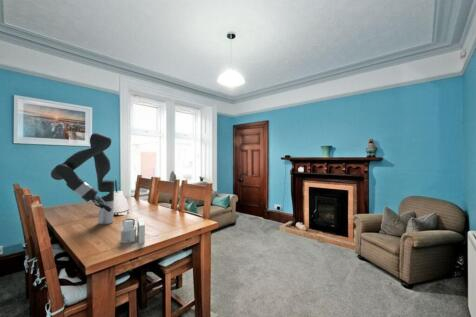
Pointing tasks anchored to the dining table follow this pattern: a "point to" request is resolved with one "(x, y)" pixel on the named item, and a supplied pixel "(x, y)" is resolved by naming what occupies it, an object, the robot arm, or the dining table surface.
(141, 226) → the plate
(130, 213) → the dining table surface
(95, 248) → the dining table surface
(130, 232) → the container
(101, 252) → the dining table surface
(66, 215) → the dining table surface
